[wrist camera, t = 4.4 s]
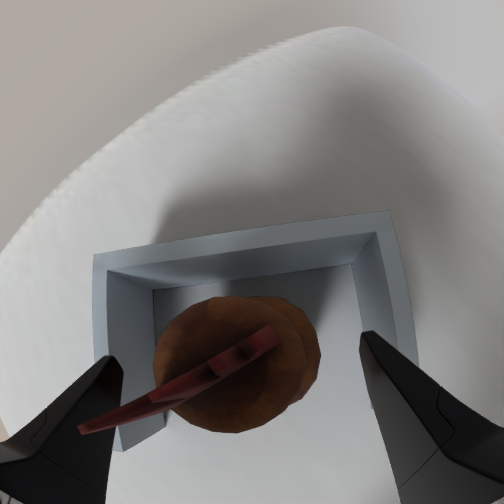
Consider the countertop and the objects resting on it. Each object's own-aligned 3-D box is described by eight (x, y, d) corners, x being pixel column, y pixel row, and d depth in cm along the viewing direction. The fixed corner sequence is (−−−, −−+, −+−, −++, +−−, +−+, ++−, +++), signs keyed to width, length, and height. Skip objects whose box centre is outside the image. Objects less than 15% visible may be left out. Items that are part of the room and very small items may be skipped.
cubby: (385, 404, 16) (422, 426, 10) (153, 426, 17) (107, 449, 11) (362, 247, 19) (388, 210, 14) (140, 277, 20) (93, 254, 15)
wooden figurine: (215, 402, 17) (58, 508, 3) (199, 319, 19) (15, 256, 5) (317, 384, 17) (406, 504, 3) (299, 299, 19) (336, 168, 4)
